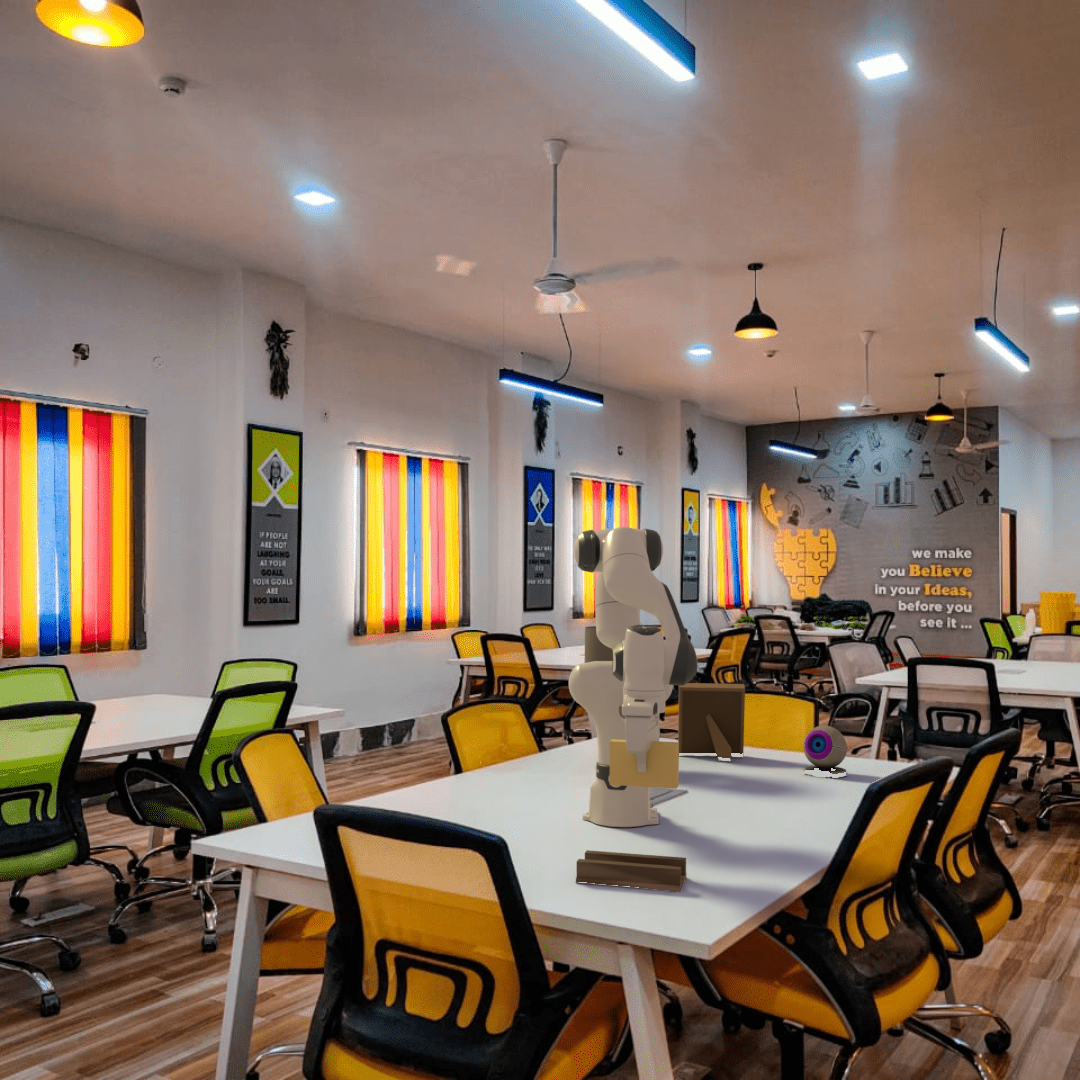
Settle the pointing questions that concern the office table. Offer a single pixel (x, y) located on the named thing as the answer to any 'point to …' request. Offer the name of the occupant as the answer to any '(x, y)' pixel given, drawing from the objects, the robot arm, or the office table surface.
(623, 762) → the door panel
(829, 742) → the webcam
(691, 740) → the photo frame
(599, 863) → the sliding track
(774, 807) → the office table surface
